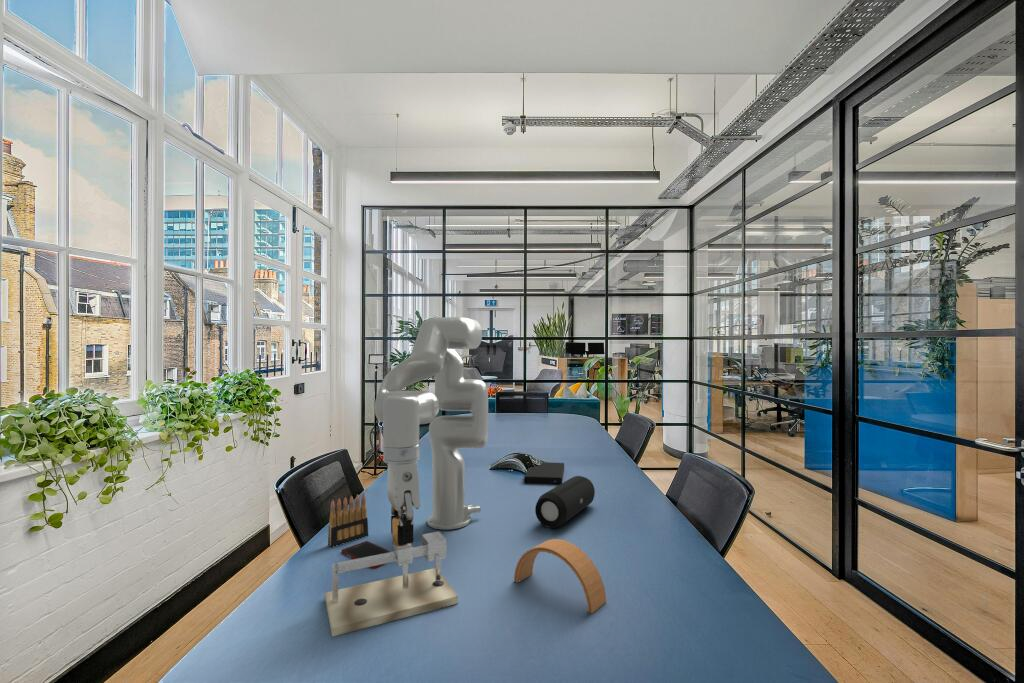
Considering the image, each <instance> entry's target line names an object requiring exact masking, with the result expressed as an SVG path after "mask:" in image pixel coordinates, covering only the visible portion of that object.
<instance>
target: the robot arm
mask: <svg viewBox="0 0 1024 683" xmlns="http://www.w3.org/2000/svg"><path fill="white" fill-rule="evenodd" d="M482 330H483V329H482V327H481V324H480V322H479V321H478V320H476V319H473V318H469V317H464V316H463V317H462V316H458V317H457V316H455V317H454V316H453V317H452V316H451V317H450V316H448V317H445V316H444V317H439V316H438V317H431V318H427V319H426V320H424V321H423V322H422V323H421V325H420V327H419V331H418V333H417V336H416V339H415V342H414V345H413V348H412V350H411V354H410V356H408V357H406V358H405V359H404V360H402V361H401V362H399V363H398V364H396V366H394V367H393V368H392V369H390V371H389V372H387V374H386V375H385V376H384V377H383V379H382V381H381V384H380V387H379V389H378V392H377V395H376V398H375V402H374V413H375V417H376V419H378V421H379V422H381V423H382V434H383V438H382V440H383V441H382V442H383V443H382V444H383V445H382V446H383V452H382V453H383V456H382V457H383V458H382V459H383V460H382V461H383V462H384V463H386V464H387V498H388V501H389V503H390V505H391V508H390V509H391V510H390V511H391V512H390V513H391V516H390V526H391V527H390V533H391V535H392V519H393V518H394V517H396V516H399V525H398V545H405V544H410V543H411V544H413V543H414V541H415V540H414V532H415V531H414V525H415V524H414V516H415V514H414V509H415V510H419V509H420V508H421V498H420V497H421V496H420V495H421V494H420V479H419V469H418V461H419V460H420V459H421V458H420V425H426V424H429V425H428V436H429V442H430V447H431V463H432V514H431V515H430V516H429V517H428V518H427V525H428V526H429V527H430V528H433V529H436V530H440V531H441V530H443V531H445V530H446V531H450V530H456V529H457V530H458V529H461V528H463V527H466V526H467V525H468V524H470V523H471V516H470V515H472V514H477V513H480V512H481V506H480V505H474V504H469V505H467V504H466V502H465V501H466V497H465V496H466V490H465V488H466V486H465V485H466V483H465V482H466V480H465V479H466V478H465V470H466V469H465V468H466V465H465V464H466V463H465V460H464V458H463V456H462V455H461V453H460V451H459V450H458V449H481V448H484V447H485V446H486V444H487V443H488V438H489V393H488V387H487V385H486V384H487V383H485V381H483V380H482V379H476V378H465V377H464V366H465V365H464V361H463V359H462V357H461V356H460V355H459V354H458V352H457V351H456V350H476V349H477V348H478V347H479V346H480V345H481V343H482V340H483V331H482ZM431 377H434V380H435V381H434V393H433V392H432V391H428V390H404V389H405V388H407V387H408V386H411V385H413V384H416V383H418V382H421V381H424V380H426V379H429V378H431ZM439 410H441V411H446V412H447V411H448V412H470V413H471V414H472V415H458V414H457V415H450V414H449V415H439V416H437V415H438V414H439ZM402 515H404V516H403V519H402Z"/></svg>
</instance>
